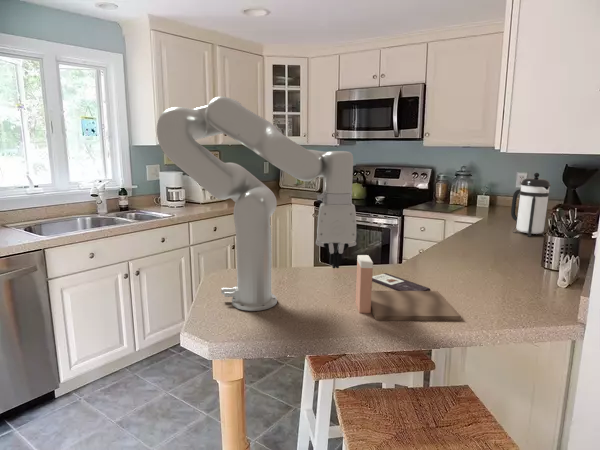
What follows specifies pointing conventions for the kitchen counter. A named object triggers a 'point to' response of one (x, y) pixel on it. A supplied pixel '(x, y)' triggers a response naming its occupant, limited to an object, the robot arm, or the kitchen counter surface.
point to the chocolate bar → (397, 283)
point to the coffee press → (531, 205)
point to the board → (411, 306)
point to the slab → (364, 283)
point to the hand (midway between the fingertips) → (335, 266)
